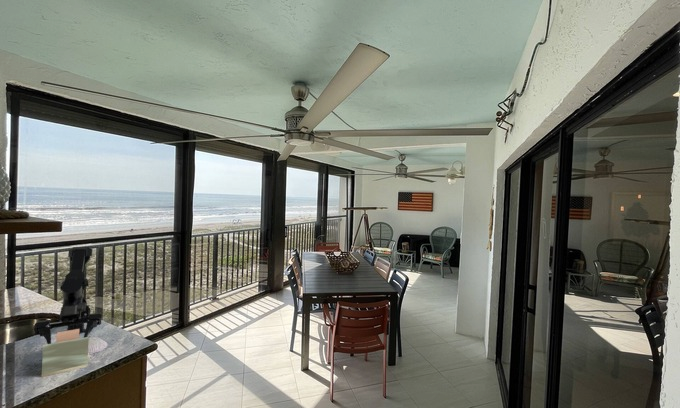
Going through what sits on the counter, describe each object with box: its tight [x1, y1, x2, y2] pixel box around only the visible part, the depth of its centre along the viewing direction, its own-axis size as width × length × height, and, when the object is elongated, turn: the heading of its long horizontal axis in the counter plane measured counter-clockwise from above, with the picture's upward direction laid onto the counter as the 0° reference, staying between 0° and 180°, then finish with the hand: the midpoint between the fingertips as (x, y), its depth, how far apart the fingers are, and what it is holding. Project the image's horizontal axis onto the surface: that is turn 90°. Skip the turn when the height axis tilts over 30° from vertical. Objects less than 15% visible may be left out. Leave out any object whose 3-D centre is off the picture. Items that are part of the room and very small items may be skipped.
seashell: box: [88, 336, 108, 355], centre depth 121 cm, size 10×6×10 cm
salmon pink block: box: [55, 329, 80, 343], centre depth 108 cm, size 3×6×12 cm, turn 128°
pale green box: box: [41, 336, 90, 378], centre depth 108 cm, size 10×12×11 cm
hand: (67, 345), depth 106 cm, fingers open, 9 cm apart
